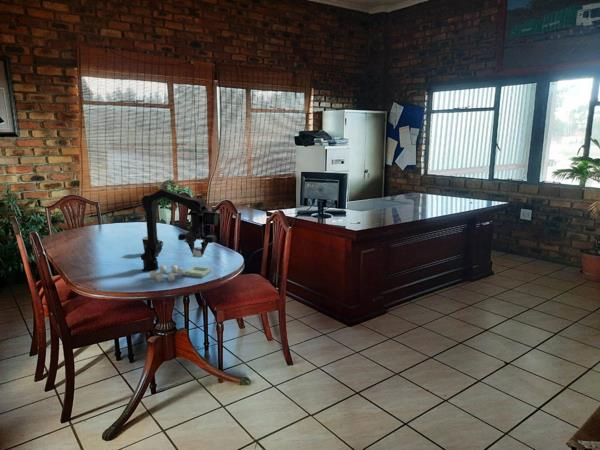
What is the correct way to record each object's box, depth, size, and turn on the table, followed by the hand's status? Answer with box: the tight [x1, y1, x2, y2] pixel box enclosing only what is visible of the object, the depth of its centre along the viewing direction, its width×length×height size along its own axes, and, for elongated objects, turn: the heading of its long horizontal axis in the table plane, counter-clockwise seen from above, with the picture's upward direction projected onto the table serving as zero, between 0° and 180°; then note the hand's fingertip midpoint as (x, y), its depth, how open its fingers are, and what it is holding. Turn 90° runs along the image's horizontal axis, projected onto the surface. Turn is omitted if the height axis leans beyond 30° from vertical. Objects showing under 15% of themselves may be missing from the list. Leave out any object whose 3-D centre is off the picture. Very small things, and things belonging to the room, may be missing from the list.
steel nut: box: [192, 246, 204, 258], centre depth 225 cm, size 5×5×4 cm
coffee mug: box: [142, 236, 164, 253], centre depth 259 cm, size 12×9×10 cm
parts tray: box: [184, 265, 212, 279], centre depth 228 cm, size 10×10×2 cm
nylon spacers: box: [149, 264, 185, 283], centre depth 222 cm, size 13×17×4 cm
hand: (197, 254), depth 226 cm, fingers closed on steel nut, 5 cm apart
